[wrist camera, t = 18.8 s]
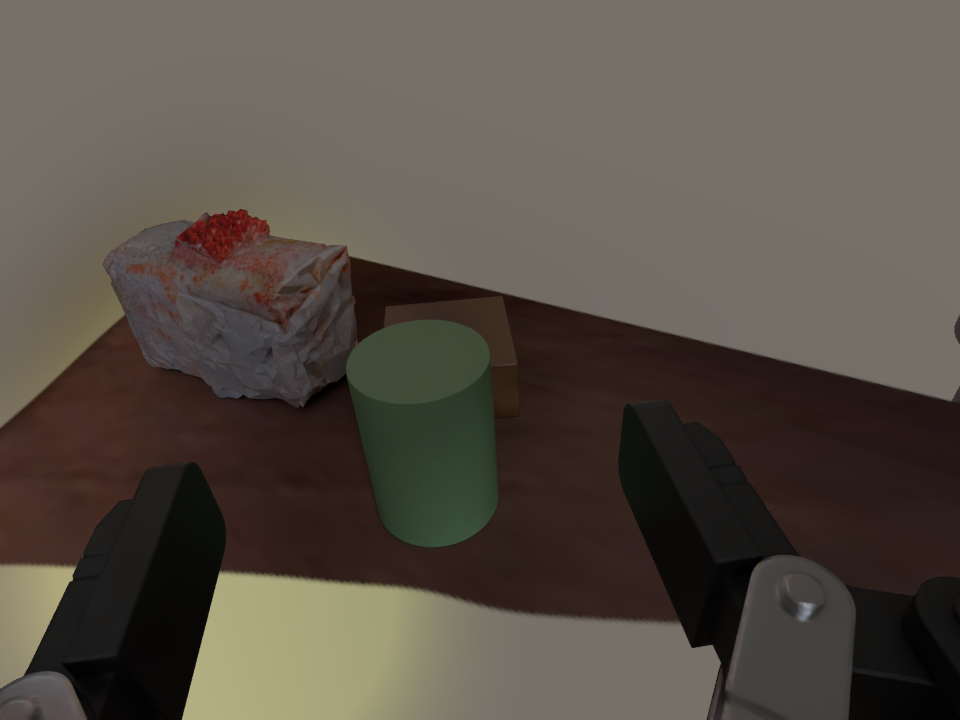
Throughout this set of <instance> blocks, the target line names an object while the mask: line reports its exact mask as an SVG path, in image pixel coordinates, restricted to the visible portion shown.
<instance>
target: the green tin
mask: <svg viewBox="0 0 960 720" xmlns="http://www.w3.org/2000/svg"><path fill="white" fill-rule="evenodd" d="M346 376H347V380H348V384H349V388H350V393H351V397H352V401H353V406H354V410H355V414H356V418H357V423H358V427H359V431H360V436H361V440H362V444H363V448H364V453H365V457H366V461H367V466H368V470H369V474H370V478H371V483H372V487H373V491H374V496H375V500H376V504H377V508H378V513H379V516H380V519H381V521H382V523H383V525H384V526H385V527H386V529H387V530H388V531H389V532H390V533H391V534H393V535H394V536H395V537H396V538H398V539H400V540H402V541H404V542H406V543H409V544H412V545H416V546H422V547H443V546H448V545H452V544H456V543H459V542H461V541H463V540H466V539H468V538H470V537H471V536H473V535H475V534H476V533H477V532H479V531H480V530H481V529H482V528H483V527H484V526H485V525H486V524H487V523H488V522H489V520H490V519H491V517H492V516H493V514H494V512H495V510H496V507H497V503H498V478H497V460H496V443H495V425H494V408H493V390H492V373H491V355H490V349H489V346H488V344H487V343H486V341H485V339H484V338H483V337H482V336H481V335H480V334H478V333H477V332H476V331H474V330H473V329H471V328H469V327H467V326H464V325H462V324H458V323H455V322H450V321H444V320H415V321H408V322H403V323H399V324H395V325H392V326H389V327H386V328H383V329H381V330H379V331H377V332H375V333H373V334H371V335H370V336H368V337H367V338H365V339H364V340H362V341H361V342H360V343H359V344H358V345H357V346H356V347H355V348H354V349H353V350H352V352H351V354H350V355H349V357H348V360H347V363H346Z"/></svg>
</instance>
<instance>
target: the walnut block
mask: <svg viewBox="0 0 960 720" xmlns="http://www.w3.org/2000/svg"><path fill="white" fill-rule="evenodd" d="M415 320H444V321H450V322H455V323H458V324H462V325H464V326H467V327H469V328H471V329H473V330H474V331H476V332H477V333H478V334H480V335H481V336H482V337H483V338H484V339H485V341H486V343H487V344H488V346H489V349H490V355H491V373H492V390H493V408H494V418H502V417H512V416H519V383H518V361H517V357H516V353H515V348H514V344H513V340H512V336H511V331H510V327H509V323H508V318H507V314H506V310H505V305H504V301H503V297H502V296H498V297H487V298H476V299H465V300H454V301H443V302H432V303H421V304H410V305H399V306H388V307H385V318H384V328H386V327H389V326H392V325H395V324H399V323H403V322H408V321H415Z"/></svg>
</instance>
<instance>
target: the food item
mask: <svg viewBox="0 0 960 720" xmlns="http://www.w3.org/2000/svg"><path fill="white" fill-rule="evenodd" d="M269 232H270V230H269V226H268V225H267V221H266V220H263V221H262V220H259V219H258V218H257V217H254V218H251V216H249V215H248V213H247V211H246V210H242V209H240V210H239V211H237V212H235V211H228V214H227V215H224V214H223V213H222V214H220V215H219V214H215V215H213V216H209V215H208V213H207V212H206V213H205V214H203V215H202V216H201V217H200V218H199V220H198V221H197V222H196V223H194V222H190V221H186V220H181V221H175V222H169V223H165V224H161V225H157V226H153V227H150V228H146V229H144V230H143V231H141V232H140V233H139V234H137V235H136V236H134V237H132V238H131V239H129V240H127V241H126V242H124V243H123V244H121V245H119V246H118V247H116V248H115V249H113V250H111V252H110V253H109V254H108V255H107V256H106V258H105V260H104V263H103V265H104V268H105V270H106V272H107V274H108V275H109V276H110V277H111V280H112V282H111V285H112V287H113V289H114V291H115V293H116V295H117V297H118V299H119V301H120V303H121V305H122V308H123V310H124V312H125V314H126V316H127V318H128V322H129V325H130V328H131V330H132V332H133V334H134V336H135V337H136V339H137V340H138V342H139V345H140V347H141V350H142V354H143V356H144V358H145V360H146V362H147V363H149V364H150V365H152V366H153V367H162V368H165V369H177V370H181V371H182V372H183V373H185V374H190V375H193V376H197V377H200V378H202V379H203V380H204V381H205V382H206V383H207V384H208V385H209V386H210V387H211V389H212V390H213V392H214V393H215V394H217V396H218V397H220V398H225V397H231V398H237V399H238V398H239V397H241V396H242V395H245V396H246V397H248V398H251V399H271V398H279V399H283V400H284V401H286V402H287V403H289V404H291V405H292V406H294V407H295V408H299V407H300V406H302V407H304V405H305V404H306V402H307V400H309V399H310V398H311V397H312V396H313V395H315V394H317V393H319V392H320V391H321V390H323V388H325V387H327V385H329V384H330V383H332V382H337V381H338V380H340V379H341V378H342V377H343V376H344V375H345V373H346V363H347V360H348V357H349V355H350V354H351V352H352V350H353V349H354V348H355V347H356V346H357V345H358V337H357V325H356V316H355V313H354V304H355V303H356V300H355V297H354V296H352V287H351V267H350V259H349V255H348V251H347V246H341V245H340V246H339V245H337V246H336V245H334V246H333V245H331V246H326V245H325V244H317V243H312V242H306V241H300V240H293V239H285V238H280V237H275V236H270V235H269Z"/></svg>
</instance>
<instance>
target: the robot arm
mask: <svg viewBox="0 0 960 720" xmlns="http://www.w3.org/2000/svg"><path fill="white" fill-rule="evenodd" d="M618 466H619V475H620V480H621V484H622V488H623V491H624V493H625V496H626V498H627V500H628V503H629V505H630V507H631V509H632V512H633V514H634V516H635V519H636V521H637V523H638V526H639V528H640V530H641V532H642V535H643V537H644V539H645V542H646V544H647V546H648V549H649V551H650V553H651V555H652V558H653V560H654V562H655V565H656V567H657V569H658V572H659V574H660V576H661V578H662V581H663V583H664V585H665V588H666V590H667V592H668V595H669V597H670V599H671V601H672V604H673V606H674V608H675V611H676V613H677V615H678V618H679V620H680V622H681V624H682V627H683V629H684V631H685V633H686V636H687V638H688V641H689V643H690V645H691V647H692V648H695V647H701V646H707V645H713V646H714V649H715V651H716V653H717V655H718V657H719V659H720V662H721V665H720V668H719V671H718V676H717V680H716V684H715V688H714V692H713V696H712V700H711V704H710V708H709V712H708V716H707V720H960V578H957V577H937V578H932V579H930V580H927V581H926V582H924V583H923V584H922V585H921V586H920V588H919V589H918V590H917V592H916V594H915V595H914V596H910V595H903V594H896V593H888V592H881V591H874V590H867V589H861V588H856V587H851V586H848V585H845V584H843V583H842V582H841V581H840V579H838V578H837V577H836V576H835V575H834V574H833V573H832V572H830V571H829V570H827V569H826V568H825V567H823V566H821V565H819V564H817V563H816V562H813V561H811V560H808V559H806V558H802V557H800V556H799V554H798V553H797V552H796V551H795V549H794V548H793V546H792V545H791V543H790V542H789V540H788V539H787V537H786V536H785V534H784V533H783V532H782V530H781V529H780V527H779V526H778V524H777V523H776V521H775V520H774V518H773V517H772V515H771V514H770V512H769V511H768V509H767V508H766V506H765V505H764V503H763V502H762V500H761V499H760V497H759V496H758V494H757V493H756V491H755V490H754V488H753V487H752V485H751V484H750V483H748V482H747V478H746V476H745V475H744V473H743V472H742V470H741V469H740V467H739V466H738V465H736V464H735V460H734V458H733V457H732V456H731V454H730V453H729V451H728V450H727V448H726V447H725V445H724V444H723V442H722V441H721V439H720V438H718V437H717V436H716V435H714V434H713V433H712V432H710V431H709V430H708V429H706V428H705V427H704V426H702V425H701V424H700V423H698V422H693V423H686V424H683V423H682V421H681V420H680V418H679V417H678V415H677V413H676V412H675V410H674V408H673V407H672V405H671V404H670V402H669V401H668V400H666V399H661V400H653V401H646V402H639V403H631V404H627V405H626V406H625V408H624V413H623V422H622V431H621V441H620V450H619V460H618ZM225 545H226V528H225V522H224V518H223V515H222V513H221V511H220V509H219V507H218V504H217V502H216V500H215V498H214V496H213V494H212V492H211V490H210V488H209V485H208V483H207V481H206V479H205V477H204V475H203V473H202V471H201V469H200V467H199V466H198V464H196V463H195V462H187V463H180V464H172V465H165V466H158V467H151V468H149V469H147V470H146V472H145V473H144V475H143V477H142V479H141V481H140V484H139V486H138V488H137V490H136V493H135V495H134V497H133V499H130V500H123V501H119V502H118V503H117V504H116V506H115V507H114V508H113V509H112V510H111V511H110V512H109V513H108V514H107V515H106V516H105V517H104V518H103V519H102V521H101V522H100V523H99V524H98V525H97V526H96V528H95V530H94V532H93V534H92V536H91V538H90V540H89V542H88V544H87V547H86V549H85V551H84V553H83V554H84V558H82V559H80V561H79V563H78V565H77V567H76V569H75V572H74V574H73V581H71V582H69V584H68V586H67V588H66V591H65V592H64V594H63V597H62V599H61V601H60V603H59V605H58V607H57V609H56V611H55V613H54V615H53V617H52V619H51V621H50V624H49V626H48V628H47V630H46V632H45V634H44V636H43V638H42V640H41V642H40V645H39V646H38V649H37V651H36V653H35V655H34V657H33V659H32V662H31V663H30V665H29V667H28V669H27V671H26V673H25V674H24V676H23V677H21V678H19V679H16V680H14V681H12V682H11V683H9V684H7V685H6V686H4V687H3V688H1V689H0V720H182V716H183V712H184V708H185V705H186V701H187V697H188V692H189V689H190V685H191V681H192V677H193V673H194V669H195V665H196V661H197V657H198V653H199V649H200V645H201V642H202V637H203V634H204V630H205V626H206V622H207V618H208V614H209V610H210V606H211V602H212V598H213V594H214V590H215V586H216V582H217V579H218V575H219V571H220V567H221V563H222V559H223V555H224V551H225Z"/></svg>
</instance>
